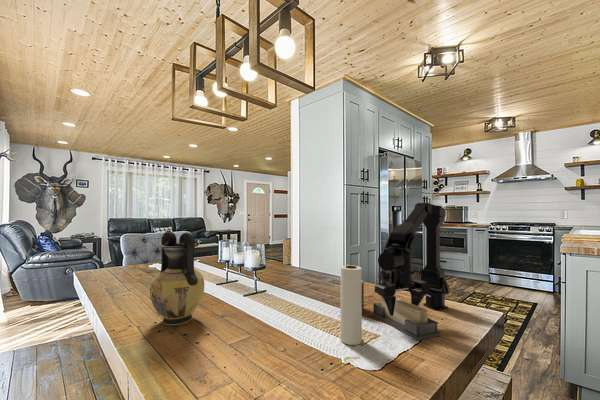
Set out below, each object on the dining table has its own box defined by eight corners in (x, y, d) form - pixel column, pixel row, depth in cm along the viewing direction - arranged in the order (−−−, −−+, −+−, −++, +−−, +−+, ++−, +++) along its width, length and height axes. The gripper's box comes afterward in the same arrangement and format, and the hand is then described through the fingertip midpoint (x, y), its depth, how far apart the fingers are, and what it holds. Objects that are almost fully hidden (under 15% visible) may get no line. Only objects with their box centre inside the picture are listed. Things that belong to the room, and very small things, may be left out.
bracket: (391, 311, 106) (391, 300, 106) (440, 336, 85) (439, 322, 85) (371, 314, 103) (371, 303, 103) (416, 340, 82) (416, 327, 82)
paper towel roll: (357, 348, 78) (357, 269, 78) (337, 342, 81) (337, 267, 81) (365, 337, 84) (366, 265, 84) (346, 333, 87) (347, 263, 88)
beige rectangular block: (389, 312, 102) (389, 295, 102) (427, 329, 88) (427, 309, 88) (381, 314, 100) (381, 296, 100) (418, 331, 86) (418, 311, 86)
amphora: (136, 326, 91) (138, 232, 92) (175, 308, 107) (177, 229, 108) (179, 335, 85) (181, 234, 86) (214, 315, 101) (216, 230, 101)
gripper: (407, 260, 105) (407, 302, 105) (364, 263, 99) (364, 308, 98) (431, 266, 95) (431, 313, 94) (385, 270, 88) (385, 320, 88)
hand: (402, 313), depth 94 cm, fingers open, 9 cm apart
